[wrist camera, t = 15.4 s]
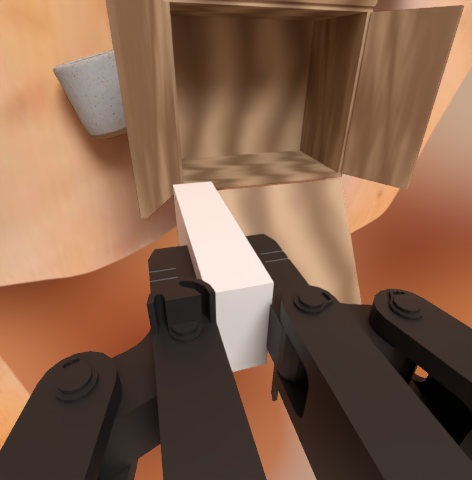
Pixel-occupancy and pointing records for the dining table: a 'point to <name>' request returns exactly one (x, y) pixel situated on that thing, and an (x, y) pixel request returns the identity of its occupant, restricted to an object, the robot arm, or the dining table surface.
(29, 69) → the dining table surface
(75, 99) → the ceramic mug
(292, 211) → the carton flap
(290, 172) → the shipping carton
